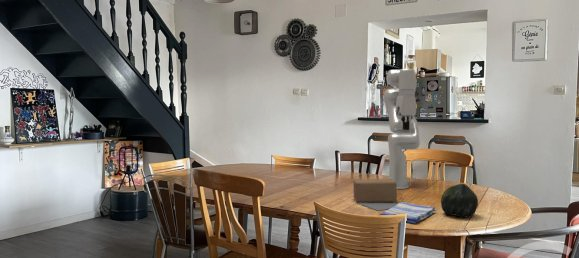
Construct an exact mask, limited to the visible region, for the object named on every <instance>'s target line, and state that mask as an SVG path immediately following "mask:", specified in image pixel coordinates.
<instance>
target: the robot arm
mask: <svg viewBox="0 0 579 258" xmlns="http://www.w3.org/2000/svg"><path fill="white" fill-rule="evenodd" d="M386 84H387V85H389V86H390V87H391V88H388V89H386V90H385V91H383V102H384V106H385V109H386V110H387V113H388V125H389V130H390V132H391V133H390V134H389V135H388V136H387V143H388V150H389V151H388V154H389V156H388V157H389V160H388V161H389V163H388V164H389V165H388V169H389V171H388V179H392V180H394V181H395V182H396V183H397V190H406V189H409V184H412V183H413V180H412V179H407V155H406V154H405V152H404V151H403V150H417V149H419V147H420V145H421V141H420V140H421V139H420V133H419V132H420V131H419V125H418V124H419V123H418V120H417V119H416V114H417V102H416V101H417V100H416V97H415V95H416V89H417V74H416V72H415V69H414V68H400V69H389V70H388V71H387V72H386ZM392 87H393V88H392Z"/></svg>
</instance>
